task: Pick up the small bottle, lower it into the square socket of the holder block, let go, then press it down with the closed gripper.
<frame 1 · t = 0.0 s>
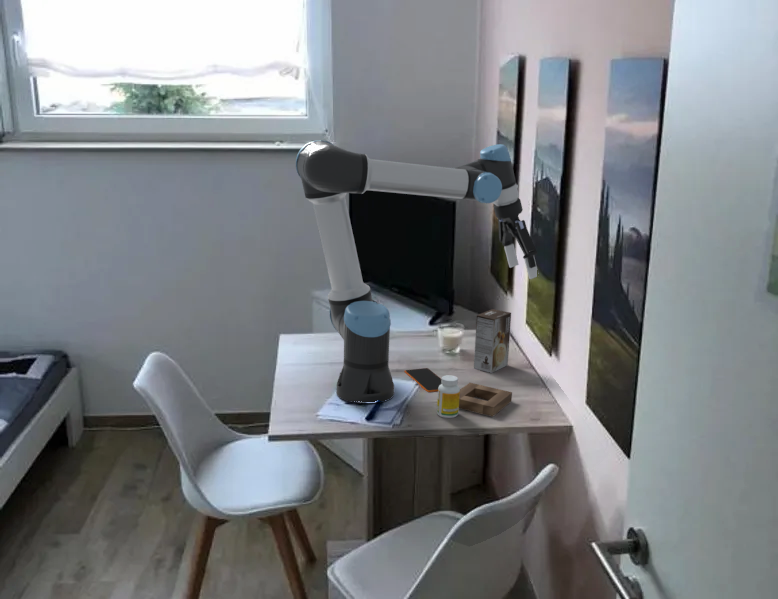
hand: (523, 271, 239), 28 cm above the table, tool tilted 20°, fingers open, 13 cm apart
smartphone: (427, 382, 232), on the table
supplement bottle: (447, 414, 209), on the table
holder block: (480, 403, 217), on the table
coffee box: (490, 367, 244), on the table
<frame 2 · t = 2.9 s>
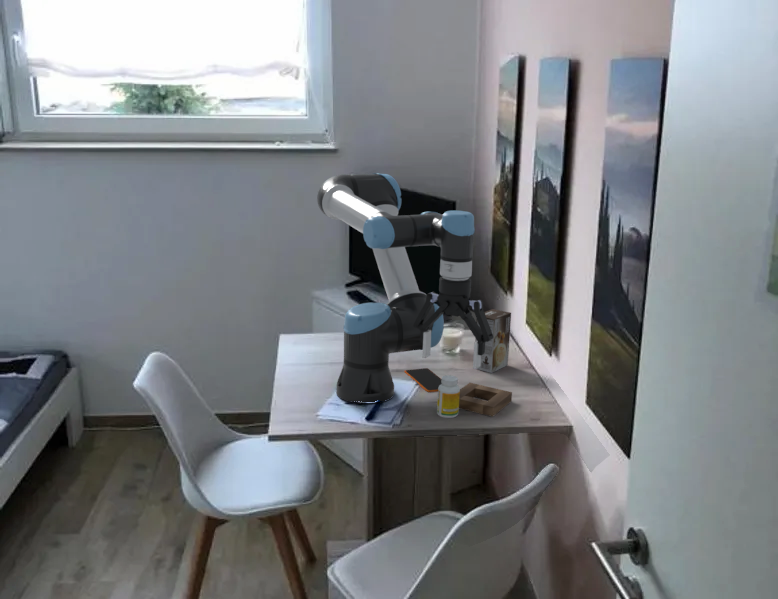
hand: (451, 362, 205), 14 cm above the table, tool pointing down, fingers open, 13 cm apart
nothing on the table moved.
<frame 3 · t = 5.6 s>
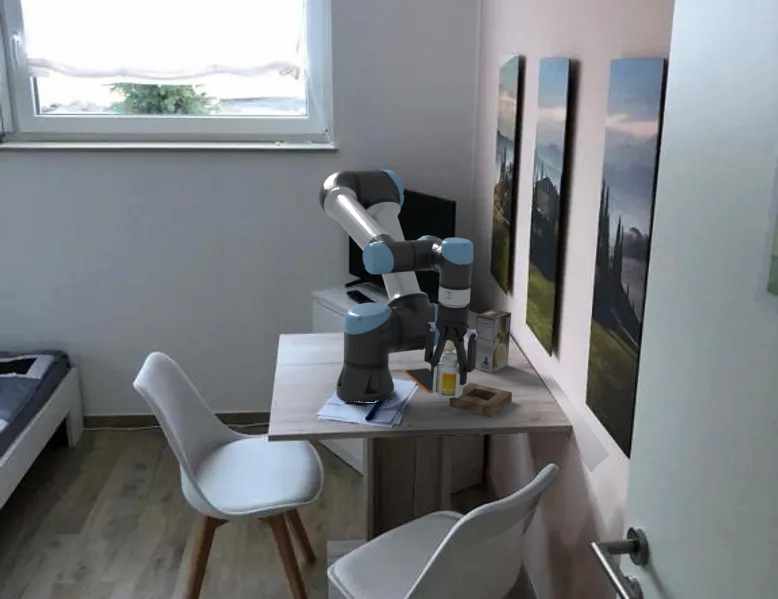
hand: (447, 392, 208), 5 cm above the table, tool pointing down, fingers closed on supplement bottle, 5 cm apart
supplement bottle: (447, 395, 209), point 5 cm above the table, touching gripper
everything else where it was.
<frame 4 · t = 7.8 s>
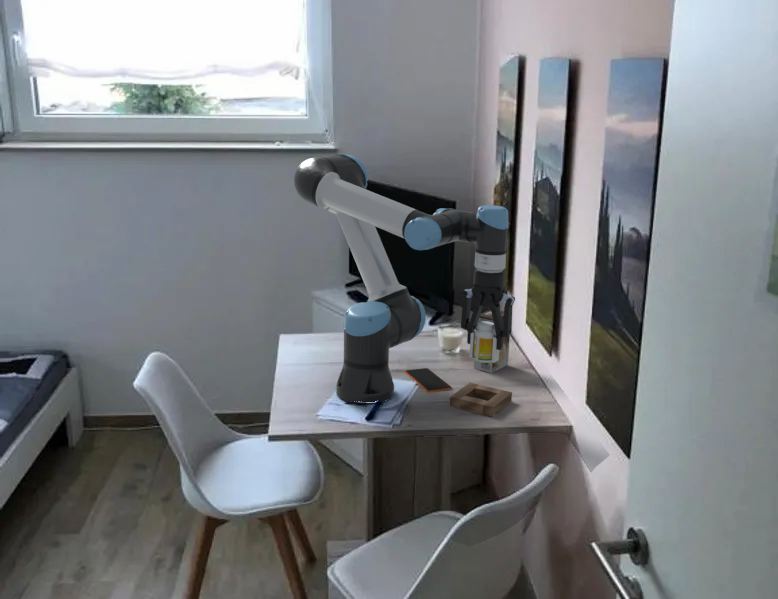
hand: (484, 358, 213), 12 cm above the table, tool pointing down, fingers closed on supplement bottle, 5 cm apart
supplement bottle: (483, 360, 213), point 12 cm above the table, touching gripper
everything else where it was.
when the fingers open (4 cm above the table, at t = 9.9 s): supplement bottle drops 3 cm, resting in holder block.
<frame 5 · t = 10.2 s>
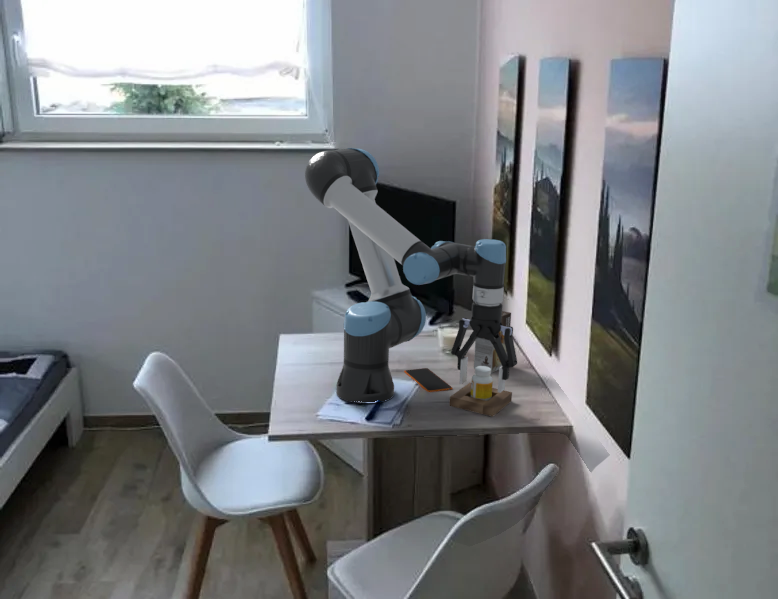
hand: (481, 386, 215), 5 cm above the table, tool pointing down, fingers open, 10 cm apart
supplement bottle: (480, 404, 217), resting in holder block
everything else where it was.
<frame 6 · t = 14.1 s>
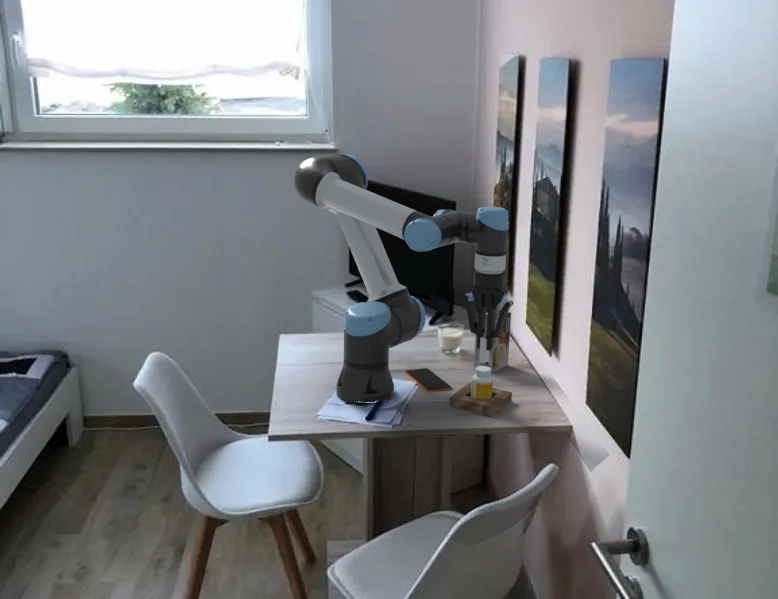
hand: (483, 361, 214), 12 cm above the table, tool pointing down, fingers closed
nothing on the table moved.
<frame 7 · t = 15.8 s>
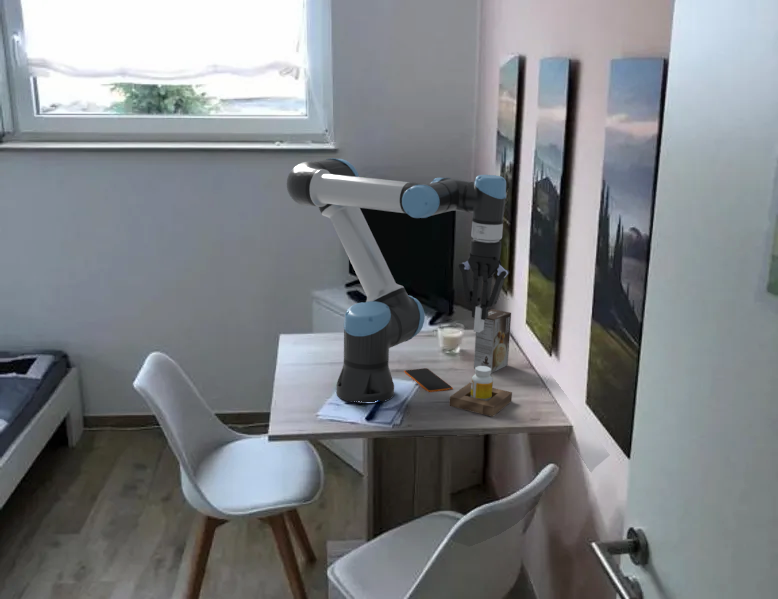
hand: (478, 330, 213), 19 cm above the table, tool pointing down, fingers closed
nothing on the table moved.
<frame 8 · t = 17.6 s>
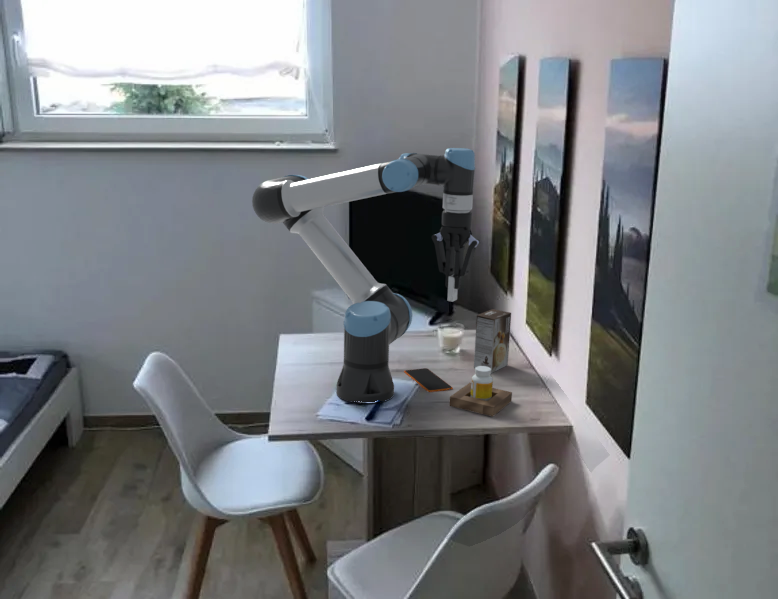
hand: (452, 300, 220), 24 cm above the table, tool pointing down, fingers closed
nothing on the table moved.
at the end: supplement bottle 0.0 cm from the holder block (horizontally); supplement bottle resting in holder block; supplement bottle tilted 0° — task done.
